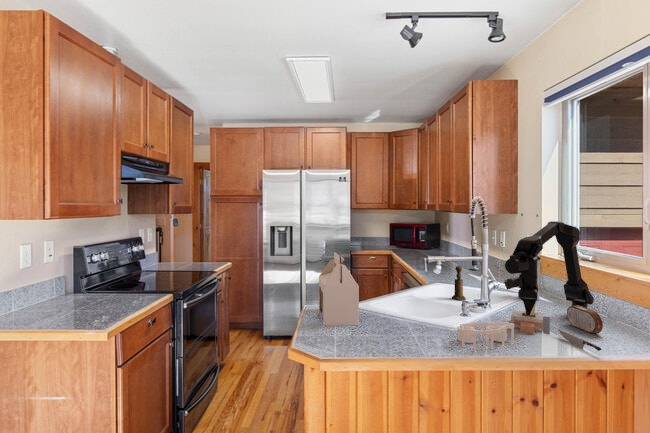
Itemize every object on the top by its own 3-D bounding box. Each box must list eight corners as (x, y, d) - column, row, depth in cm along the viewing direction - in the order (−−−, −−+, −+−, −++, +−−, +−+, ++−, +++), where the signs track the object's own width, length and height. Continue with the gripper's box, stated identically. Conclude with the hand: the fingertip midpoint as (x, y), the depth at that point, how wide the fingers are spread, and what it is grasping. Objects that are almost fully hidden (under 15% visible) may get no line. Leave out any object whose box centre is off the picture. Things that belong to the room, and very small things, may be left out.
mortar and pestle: (465, 301, 188) (465, 265, 188) (466, 304, 182) (466, 267, 182) (451, 300, 190) (451, 264, 190) (451, 302, 184) (451, 266, 184)
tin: (603, 336, 135) (603, 312, 135) (595, 336, 134) (595, 313, 134) (572, 323, 150) (573, 302, 150) (565, 324, 149) (565, 303, 149)
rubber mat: (512, 313, 165) (512, 312, 165) (549, 318, 158) (549, 317, 158) (506, 329, 143) (506, 328, 143) (549, 335, 135) (549, 334, 135)
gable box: (359, 331, 140) (359, 257, 140) (323, 333, 139) (323, 257, 138) (349, 315, 162) (349, 250, 162) (318, 316, 161) (318, 251, 161)
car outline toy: (504, 340, 131) (504, 319, 131) (525, 352, 120) (525, 329, 120) (450, 342, 129) (450, 321, 129) (465, 354, 118) (465, 331, 118)
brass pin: (524, 323, 147) (527, 298, 146) (533, 325, 146) (535, 300, 145) (523, 326, 145) (526, 300, 144) (532, 327, 143) (535, 302, 142)
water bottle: (526, 301, 187) (526, 251, 187) (521, 297, 195) (521, 249, 195) (546, 302, 186) (546, 251, 186) (540, 298, 194) (540, 250, 193)
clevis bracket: (513, 322, 152) (513, 310, 152) (542, 326, 147) (543, 313, 147) (509, 332, 139) (509, 319, 139) (542, 337, 133) (542, 323, 133)
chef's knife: (556, 336, 134) (556, 328, 134) (559, 336, 134) (559, 328, 134) (599, 357, 115) (599, 347, 115) (602, 357, 115) (602, 347, 115)
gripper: (507, 267, 157) (507, 304, 157) (503, 273, 141) (503, 314, 141) (538, 269, 151) (538, 307, 151) (537, 276, 135) (537, 319, 135)
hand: (528, 312), depth 145 cm, fingers open, 9 cm apart
